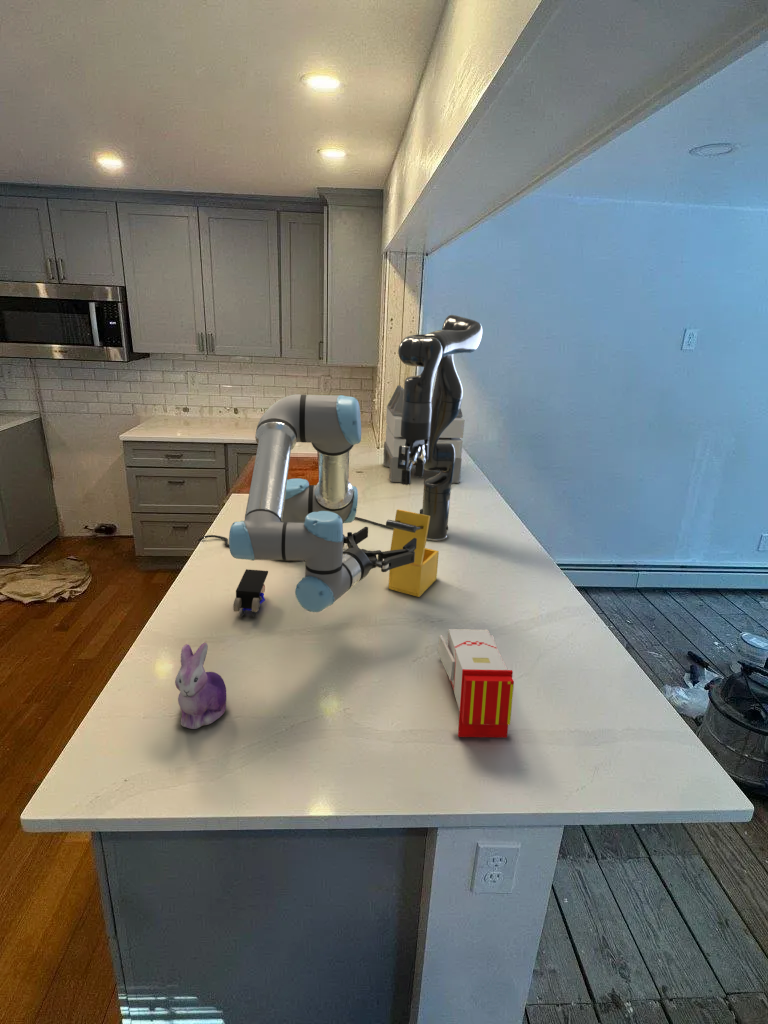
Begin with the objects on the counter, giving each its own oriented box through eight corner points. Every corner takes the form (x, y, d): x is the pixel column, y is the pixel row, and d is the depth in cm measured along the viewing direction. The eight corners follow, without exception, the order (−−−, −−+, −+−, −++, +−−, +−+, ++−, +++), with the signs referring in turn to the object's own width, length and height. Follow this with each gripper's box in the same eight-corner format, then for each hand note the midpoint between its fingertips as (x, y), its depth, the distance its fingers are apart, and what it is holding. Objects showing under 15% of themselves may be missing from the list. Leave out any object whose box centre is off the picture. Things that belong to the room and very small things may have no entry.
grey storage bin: (382, 463, 289) (386, 382, 275) (445, 464, 293) (451, 384, 279) (390, 482, 257) (394, 392, 243) (460, 483, 261) (468, 394, 247)
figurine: (182, 738, 102) (175, 668, 97) (173, 704, 111) (167, 638, 106) (234, 723, 106) (231, 655, 101) (222, 691, 115) (218, 627, 110)
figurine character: (260, 625, 142) (270, 591, 155) (258, 600, 138) (268, 567, 152) (233, 624, 141) (245, 590, 155) (230, 599, 138) (243, 567, 152)
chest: (407, 571, 171) (409, 544, 168) (436, 579, 167) (438, 551, 164) (388, 588, 161) (389, 559, 157) (419, 597, 157) (421, 567, 153)
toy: (488, 613, 130) (523, 677, 101) (484, 667, 133) (517, 744, 104) (435, 612, 130) (455, 676, 101) (432, 666, 133) (451, 743, 103)
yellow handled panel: (398, 509, 156) (385, 510, 148) (430, 516, 152) (418, 517, 144) (391, 556, 158) (377, 560, 150) (422, 564, 154) (410, 568, 146)
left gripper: (300, 570, 131) (347, 540, 149) (397, 598, 121) (435, 562, 139) (300, 541, 129) (347, 513, 147) (399, 566, 118) (437, 533, 136)
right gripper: (418, 425, 136) (414, 489, 141) (440, 416, 148) (435, 476, 153) (390, 421, 139) (387, 484, 144) (414, 413, 151) (410, 472, 156)
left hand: (390, 537), depth 143 cm, fingers open, 13 cm apart
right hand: (412, 480), depth 149 cm, fingers open, 8 cm apart
